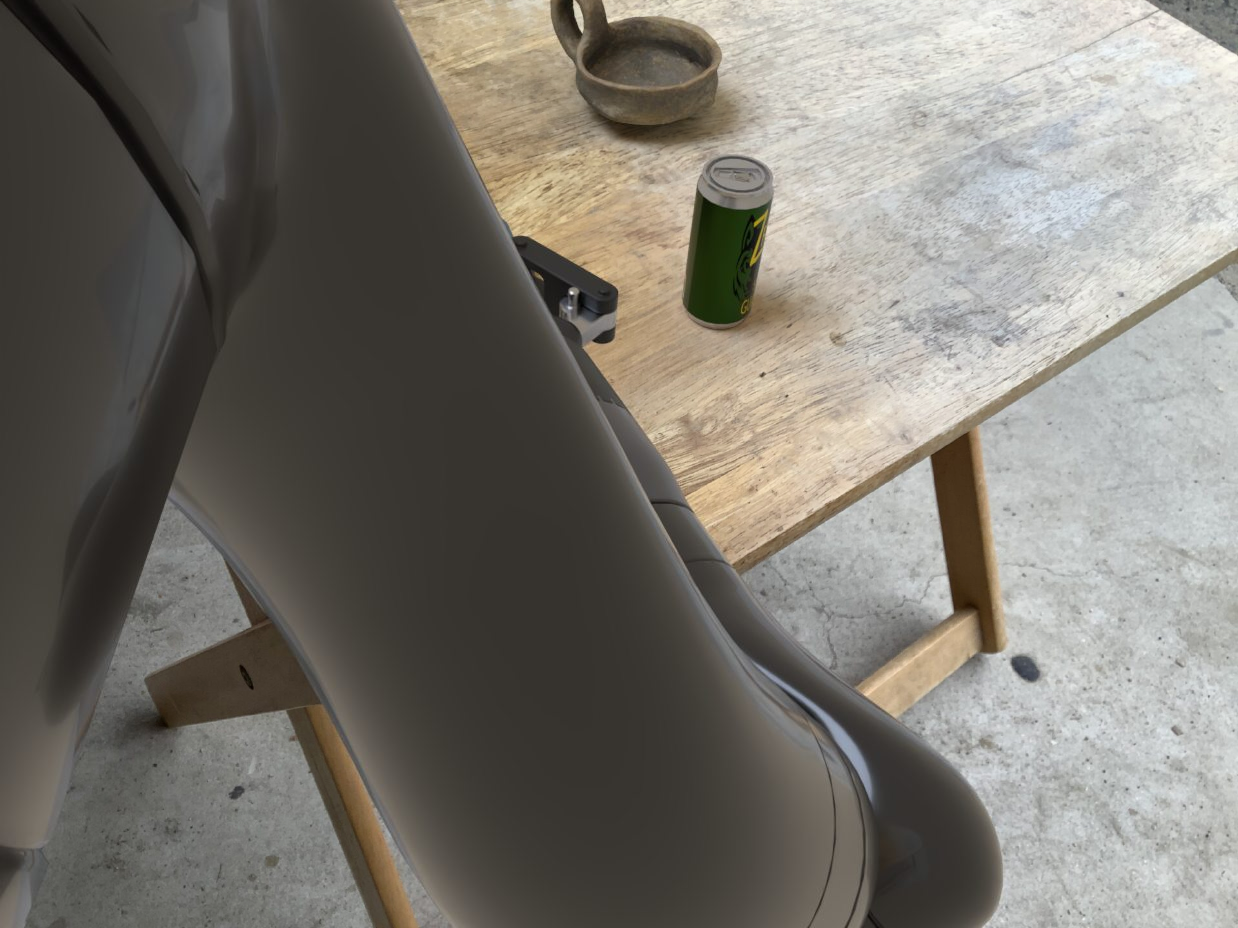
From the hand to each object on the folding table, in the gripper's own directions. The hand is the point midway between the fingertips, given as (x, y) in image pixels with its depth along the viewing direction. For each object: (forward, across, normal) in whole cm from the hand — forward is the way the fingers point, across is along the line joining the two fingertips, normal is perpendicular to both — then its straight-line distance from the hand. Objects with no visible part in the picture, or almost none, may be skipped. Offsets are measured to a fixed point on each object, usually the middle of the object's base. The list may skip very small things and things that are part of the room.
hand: (393, 226), depth 50 cm
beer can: (+12, -28, +24) cm, 38 cm away
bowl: (+41, -36, +24) cm, 59 cm away
